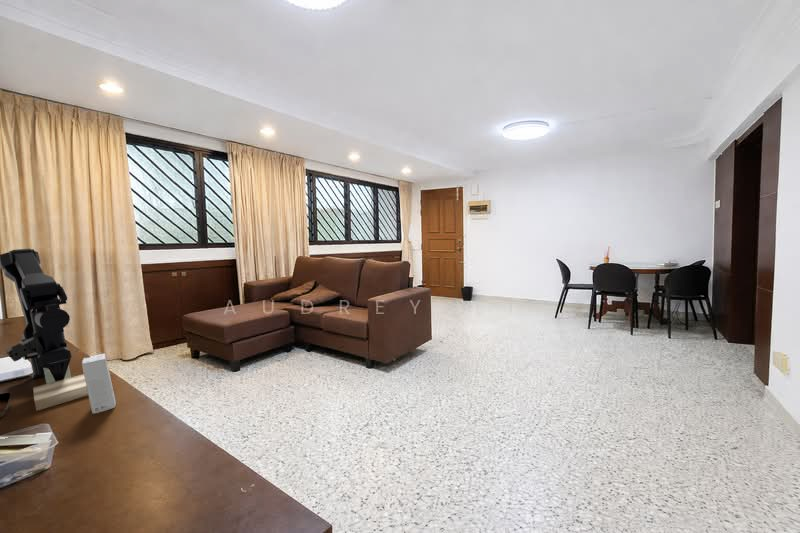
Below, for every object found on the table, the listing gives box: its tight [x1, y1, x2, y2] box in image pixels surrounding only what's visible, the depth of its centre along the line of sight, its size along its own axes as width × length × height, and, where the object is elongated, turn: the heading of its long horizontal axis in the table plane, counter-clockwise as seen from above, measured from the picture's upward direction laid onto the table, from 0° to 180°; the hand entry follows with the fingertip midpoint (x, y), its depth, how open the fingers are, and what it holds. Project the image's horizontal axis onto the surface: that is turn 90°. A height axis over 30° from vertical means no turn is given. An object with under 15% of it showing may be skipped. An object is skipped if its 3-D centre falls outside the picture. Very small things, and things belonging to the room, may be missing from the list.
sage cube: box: [43, 365, 72, 384], centre depth 101 cm, size 5×5×5 cm
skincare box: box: [81, 352, 117, 414], centre depth 84 cm, size 6×4×12 cm
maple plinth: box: [32, 373, 88, 411], centre depth 93 cm, size 12×11×2 cm
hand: (58, 379), depth 101 cm, fingers open, 9 cm apart
